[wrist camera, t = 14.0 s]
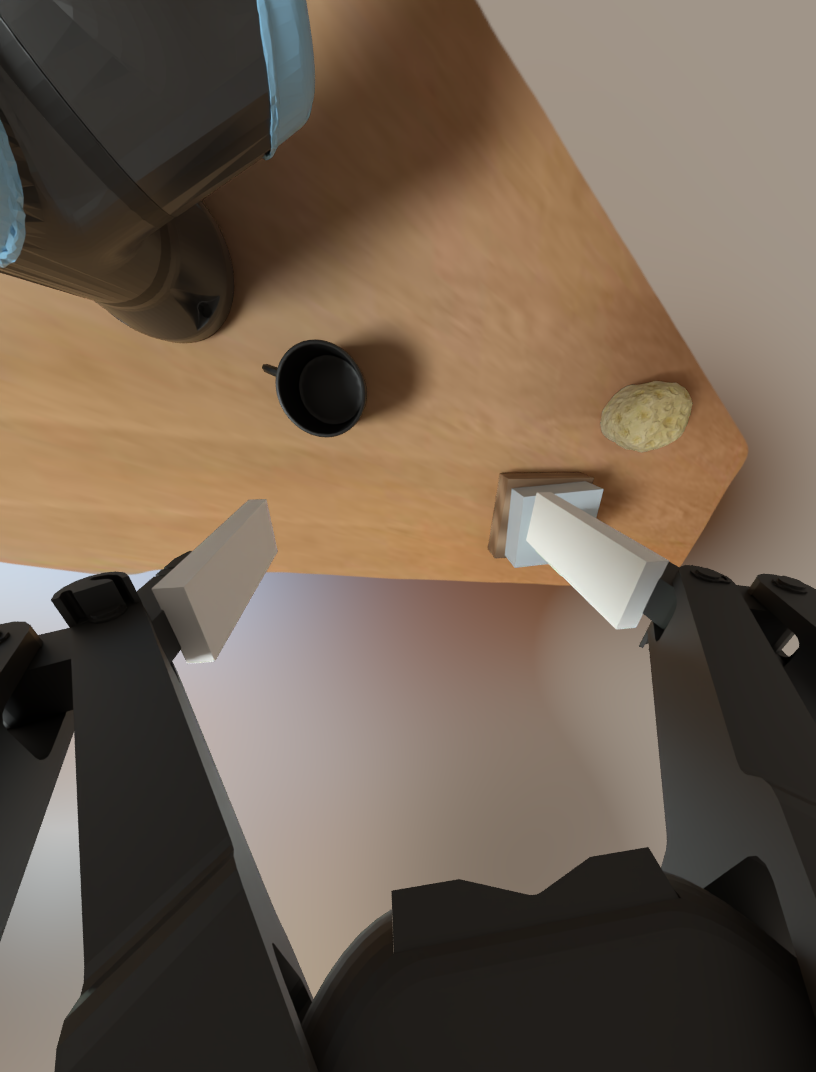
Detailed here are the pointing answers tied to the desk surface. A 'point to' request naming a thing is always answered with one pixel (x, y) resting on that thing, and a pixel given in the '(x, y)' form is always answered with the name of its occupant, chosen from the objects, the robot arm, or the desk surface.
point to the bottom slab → (504, 497)
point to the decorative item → (646, 415)
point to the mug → (320, 388)
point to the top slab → (521, 513)
